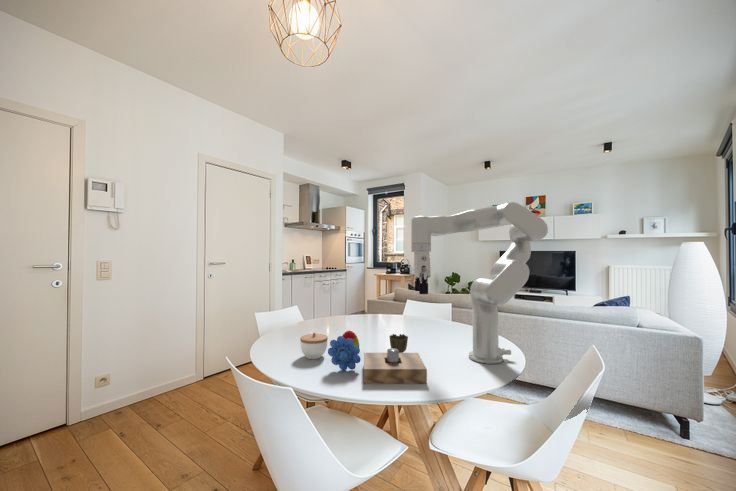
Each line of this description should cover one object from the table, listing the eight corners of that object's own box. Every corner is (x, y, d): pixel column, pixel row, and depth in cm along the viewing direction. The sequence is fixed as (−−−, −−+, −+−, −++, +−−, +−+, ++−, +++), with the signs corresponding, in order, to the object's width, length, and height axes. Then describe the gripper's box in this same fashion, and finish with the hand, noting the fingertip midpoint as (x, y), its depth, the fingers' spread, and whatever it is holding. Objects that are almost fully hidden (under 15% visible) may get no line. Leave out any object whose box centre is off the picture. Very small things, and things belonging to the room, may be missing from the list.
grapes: (325, 375, 102) (326, 339, 102) (328, 367, 108) (328, 334, 109) (360, 375, 101) (360, 339, 102) (360, 367, 108) (360, 334, 109)
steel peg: (398, 371, 105) (398, 348, 105) (399, 376, 101) (399, 352, 101) (386, 371, 105) (386, 348, 105) (387, 376, 101) (387, 352, 101)
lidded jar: (327, 351, 126) (327, 329, 126) (327, 360, 115) (328, 336, 116) (300, 353, 124) (301, 330, 124) (299, 362, 114) (299, 337, 114)
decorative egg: (355, 351, 126) (356, 327, 126) (361, 358, 118) (361, 332, 119) (336, 353, 123) (337, 329, 124) (341, 360, 116) (341, 334, 116)
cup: (407, 353, 124) (407, 333, 125) (408, 359, 117) (408, 338, 117) (389, 352, 125) (389, 333, 125) (389, 358, 118) (389, 338, 118)
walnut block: (417, 365, 111) (417, 352, 111) (426, 383, 95) (426, 369, 95) (363, 364, 111) (363, 352, 111) (363, 383, 95) (363, 369, 95)
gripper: (436, 247, 108) (436, 295, 107) (426, 248, 125) (426, 289, 125) (415, 247, 108) (415, 295, 107) (408, 248, 125) (408, 289, 125)
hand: (421, 292), depth 116 cm, fingers open, 9 cm apart
